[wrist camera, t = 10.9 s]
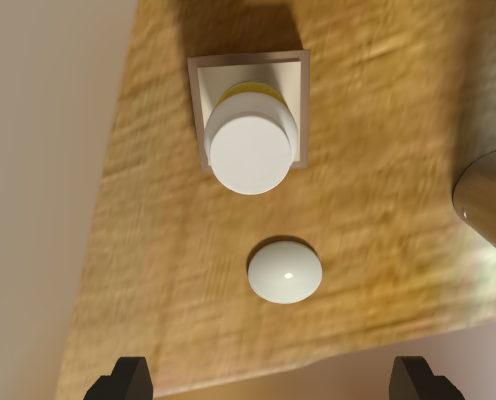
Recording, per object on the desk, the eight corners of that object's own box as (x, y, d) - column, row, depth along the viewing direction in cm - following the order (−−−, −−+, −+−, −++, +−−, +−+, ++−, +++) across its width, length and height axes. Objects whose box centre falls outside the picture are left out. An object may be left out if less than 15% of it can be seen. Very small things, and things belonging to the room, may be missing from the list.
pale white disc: (322, 239, 38) (323, 242, 38) (319, 297, 42) (320, 302, 42) (246, 242, 39) (246, 245, 38) (250, 300, 43) (250, 304, 42)
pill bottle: (209, 86, 27) (181, 110, 17) (282, 72, 27) (299, 88, 17) (224, 157, 30) (209, 213, 20) (292, 145, 29) (310, 197, 19)
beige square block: (303, 49, 30) (310, 50, 26) (302, 154, 34) (308, 168, 30) (194, 56, 30) (186, 58, 26) (207, 159, 34) (201, 174, 30)
